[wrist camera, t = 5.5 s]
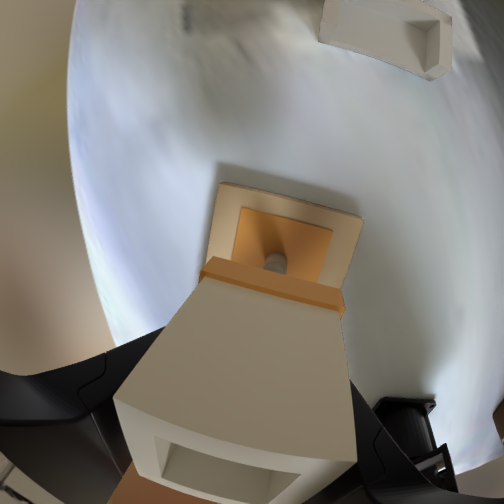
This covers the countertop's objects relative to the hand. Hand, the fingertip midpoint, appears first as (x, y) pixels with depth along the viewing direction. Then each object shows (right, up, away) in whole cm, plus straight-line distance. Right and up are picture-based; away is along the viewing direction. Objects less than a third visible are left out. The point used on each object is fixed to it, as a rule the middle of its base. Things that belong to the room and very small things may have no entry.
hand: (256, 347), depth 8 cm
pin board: (+1, -1, +9) cm, 9 cm away
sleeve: (0, 0, +1) cm, 1 cm away
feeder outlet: (+7, +16, +2) cm, 18 cm away
